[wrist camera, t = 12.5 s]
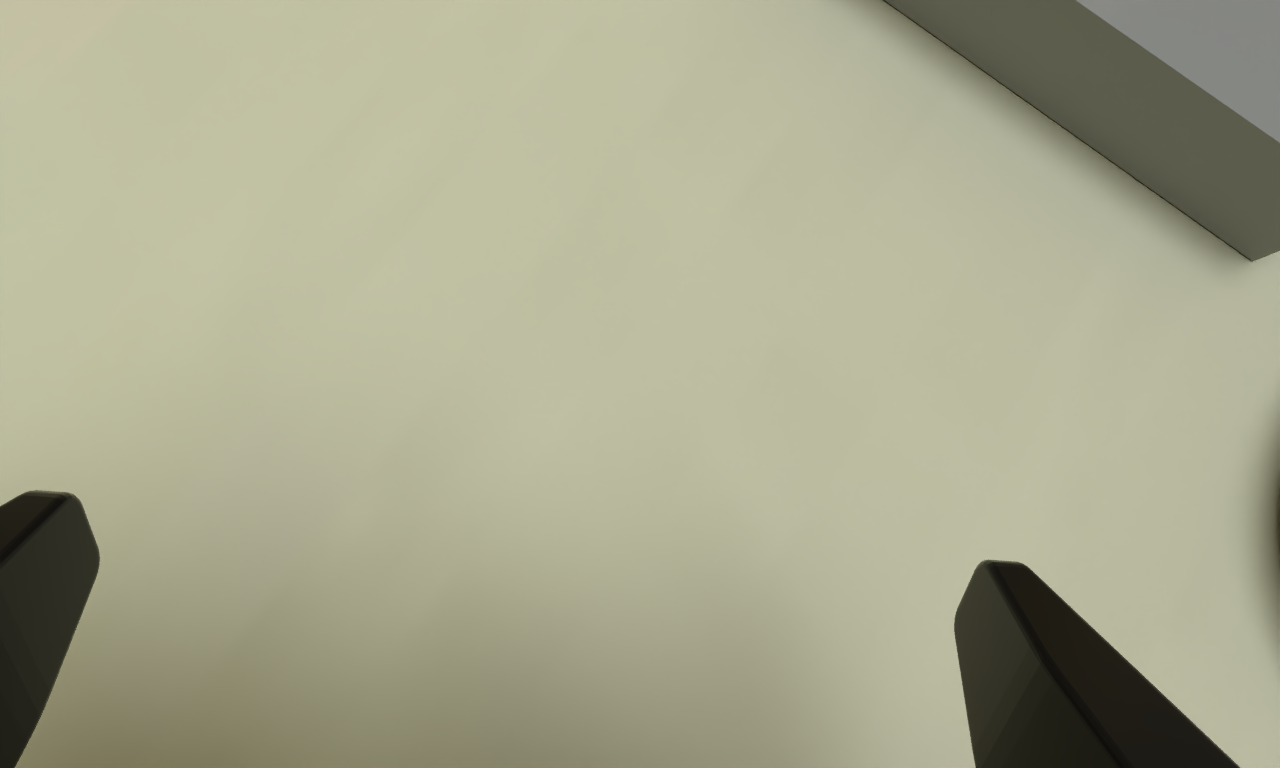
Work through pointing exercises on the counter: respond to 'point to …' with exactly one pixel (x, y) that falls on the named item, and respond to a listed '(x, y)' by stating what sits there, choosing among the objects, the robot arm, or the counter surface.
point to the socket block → (1147, 92)
